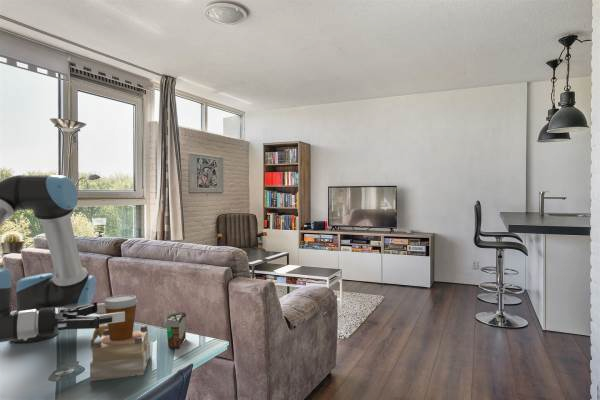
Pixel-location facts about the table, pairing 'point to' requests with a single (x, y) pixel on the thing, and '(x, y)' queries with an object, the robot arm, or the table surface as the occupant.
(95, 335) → the lion figurine
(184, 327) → the food container
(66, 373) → the table surface
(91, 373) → the wooden crate
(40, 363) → the table surface
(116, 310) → the disposable coffee cup
